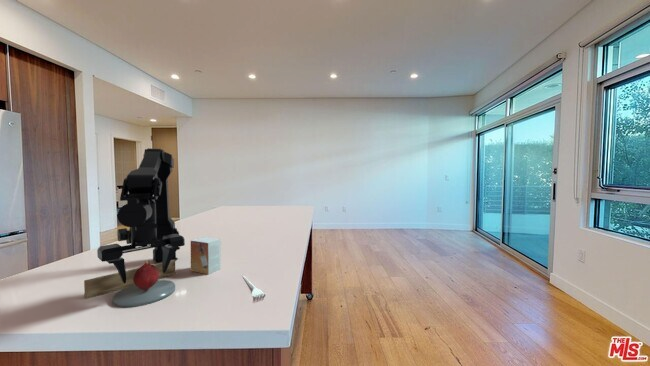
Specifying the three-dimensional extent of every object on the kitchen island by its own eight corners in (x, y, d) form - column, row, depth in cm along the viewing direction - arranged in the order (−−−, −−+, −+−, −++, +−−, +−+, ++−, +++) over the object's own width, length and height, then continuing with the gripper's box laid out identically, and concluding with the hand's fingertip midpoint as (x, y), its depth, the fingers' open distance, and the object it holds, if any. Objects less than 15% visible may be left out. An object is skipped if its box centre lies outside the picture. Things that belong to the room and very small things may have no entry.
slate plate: (164, 279, 82) (164, 276, 82) (183, 292, 73) (183, 289, 73) (107, 295, 71) (106, 292, 71) (120, 313, 62) (120, 309, 62)
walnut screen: (173, 272, 87) (173, 259, 87) (176, 274, 86) (175, 260, 86) (84, 296, 71) (83, 279, 70) (85, 299, 69) (85, 282, 69)
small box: (190, 271, 88) (189, 240, 88) (203, 266, 94) (203, 236, 93) (208, 274, 85) (207, 242, 85) (221, 269, 91) (220, 238, 90)
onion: (163, 288, 74) (164, 259, 74) (143, 296, 68) (144, 265, 68) (148, 284, 75) (149, 256, 75) (127, 292, 70) (128, 262, 70)
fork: (247, 276, 86) (247, 271, 86) (269, 300, 69) (268, 292, 69) (237, 278, 84) (237, 273, 84) (256, 303, 67) (256, 295, 67)
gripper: (169, 213, 83) (171, 262, 84) (92, 221, 69) (94, 280, 70) (184, 217, 76) (186, 270, 77) (101, 227, 62) (103, 292, 62)
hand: (145, 277), depth 72 cm, fingers open, 9 cm apart
